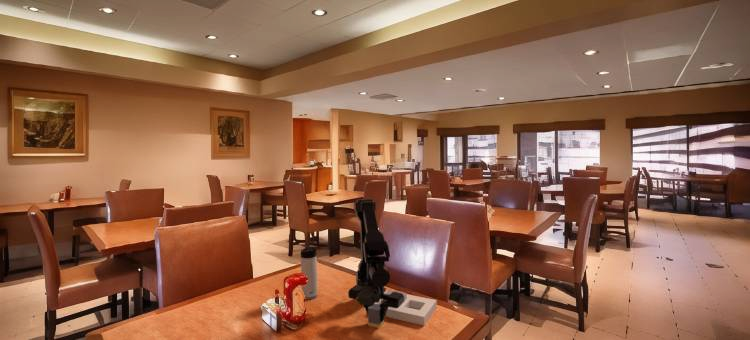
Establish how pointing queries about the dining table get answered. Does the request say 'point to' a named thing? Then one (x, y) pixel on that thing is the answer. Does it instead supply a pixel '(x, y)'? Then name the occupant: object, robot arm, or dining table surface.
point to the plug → (374, 316)
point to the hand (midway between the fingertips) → (376, 320)
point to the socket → (413, 310)
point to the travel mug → (309, 272)
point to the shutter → (398, 292)
